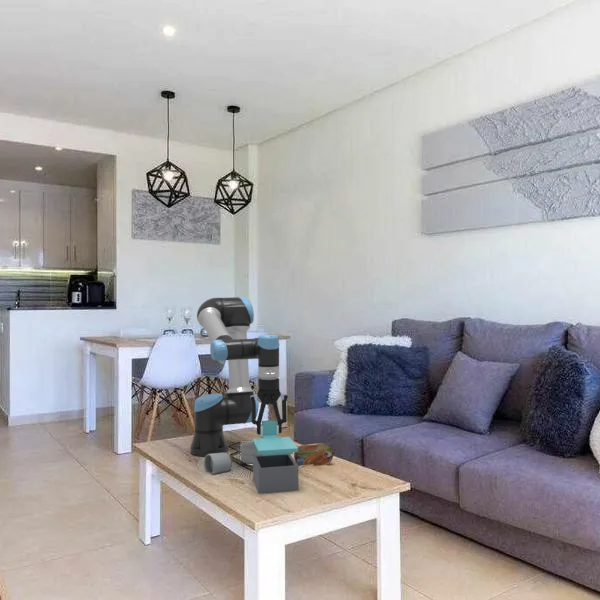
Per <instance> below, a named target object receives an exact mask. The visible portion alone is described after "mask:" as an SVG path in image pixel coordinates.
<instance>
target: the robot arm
mask: <svg viewBox="0 0 600 600" xmlns="http://www.w3.org/2000/svg"><path fill="white" fill-rule="evenodd" d="M196 318H197V322H198V324H199V325H200V326H201V328H204V329H205V333H206V335H207V336H208V338H209V340H210V351H209V352H210V353H209V354H210V357H211V359H212V361H221V362H224V361H227V362H228V364H227V366H228V384H229V387H228V389H227V390H226V392H225V396H223V394H222V393H211V394H209V393H208V394H205V395H200V396H199V397H197V398H196V399H195V400H194V409H193V412H194V415H193V416H194V417H193V419H194V423H193V424H194V434H193V438H192V442H191V444H190V448H189V449H190V451H189V452H190V454H191V455H193V456H197V457H206V455H207V454H213V453H228V444H227V440H226V438H225V435H224V430H223V429H224V426H230V425H231V426H232V425H238V424H239V425H240V424H243V425H246V424H249V423H252V424H253V425H255V426H256V434H257V435H259V439H261V438H263V426H262V421H263V417H264V412H265V408H266V405H272V407H273V410H274V413H275V418H276V421H277V425H276V426H277V436H278V437H280V435H279V434H282V429H283V428H282V425H283V424H285V423H287V422H288V418H287V417H288V416H287V411H288V409H287V401H288V399H289V398H288V397H289V396H288V395H287V394H286V393H281V390H280V379H279V377H280V339H279V335H277V334H260V335H258V336H257V337H254V338H248V334H247V332H248V330H249V329H250V327H251V325H252V324H253V323H254V321H255V320H254V319H255V313H254V308H253V305H252V302H251V301H250V300H249V299H248V298H247V297H240V296H238V297H235V296H234V297H213V298H209V299H207V300H205V301H204V302H203V303H202V304H201V305H200V306H199V307H198V309H197V313H196ZM249 360H258V362H257V363H258V364H257V365H258V368H257V370H258V371H257V375H258V376H257V377H258V378H259V379H257V381H258V383H257V384H258V388H257V389H258V391H257V392H256V393H257V394H255V393H254V390H253V389H252V388H251V386H250V372H249V371H250V370H249V369H250V368H249ZM279 398H280V400H281V415H280V411H279V407H278V404H277V402H278V400H279ZM259 400H260V402H261V403H260V404H259ZM259 405H260V408H259Z"/></svg>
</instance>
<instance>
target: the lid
mask: <svg viewBox="0 0 600 600" xmlns="http://www.w3.org/2000/svg"><path fill="white" fill-rule="evenodd" d="M277 423H278V422H277V419H275V420H274V419H272V420H271V419H270V420H262V421H261V424H262V426H263V438H261V439H260V438H252V442H253V444H254V446H255V448H256V450H257V453H258V455H259V454H262V456H271V455H286V454H291V455H294V453H295V452H298V447H299V446H297V445H296V444H295V442H294V441H293V439H292V438H291V436H285V437H284V436H283V437H280V436H279V437H278V436H277V426H276V425H277Z"/></svg>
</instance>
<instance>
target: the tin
mask: <svg viewBox="0 0 600 600" xmlns="http://www.w3.org/2000/svg"><path fill="white" fill-rule="evenodd" d="M297 447H298V452H293V459H294V460H295V462H296V463H297V465H298V467H299V466H300V467H301V466H309V465H311V466H312V465H313V466H314V467H319V466H320V467H321V466H328V465H329V464H330V463H331V462H332V461H333V458H334V452H333V448H332V447H331V446H330V445H329V444H327V443H323V442H319V443H318V442H317V443H309V444H302V445H299V446H297Z"/></svg>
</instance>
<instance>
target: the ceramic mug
mask: <svg viewBox="0 0 600 600" xmlns="http://www.w3.org/2000/svg"><path fill="white" fill-rule="evenodd" d="M203 467H204V470H205V472H209V471H212V472H211V475H212V476H213V475H217V474H220V473H221V474H222V473H225V472H226V473H227V472H230V471H231V470H232V467H233V460H232V457H231V455H230V453H228V452H226V453H213V454H207V455H206V456H204V462H203Z"/></svg>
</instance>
